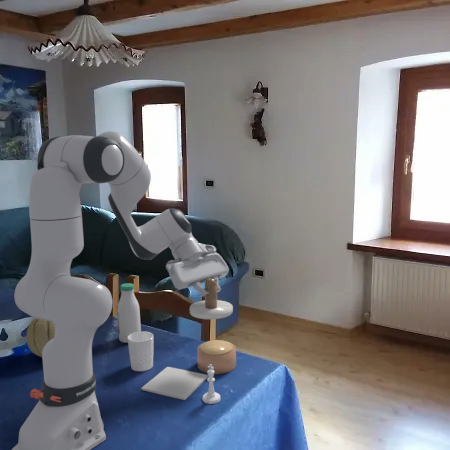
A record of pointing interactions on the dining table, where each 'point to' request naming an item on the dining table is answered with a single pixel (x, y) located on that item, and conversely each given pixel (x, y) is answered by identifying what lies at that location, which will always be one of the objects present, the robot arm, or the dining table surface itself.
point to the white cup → (141, 350)
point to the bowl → (216, 356)
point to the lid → (211, 304)
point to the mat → (175, 383)
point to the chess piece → (211, 389)
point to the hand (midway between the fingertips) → (212, 293)
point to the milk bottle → (128, 313)
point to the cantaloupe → (39, 335)
